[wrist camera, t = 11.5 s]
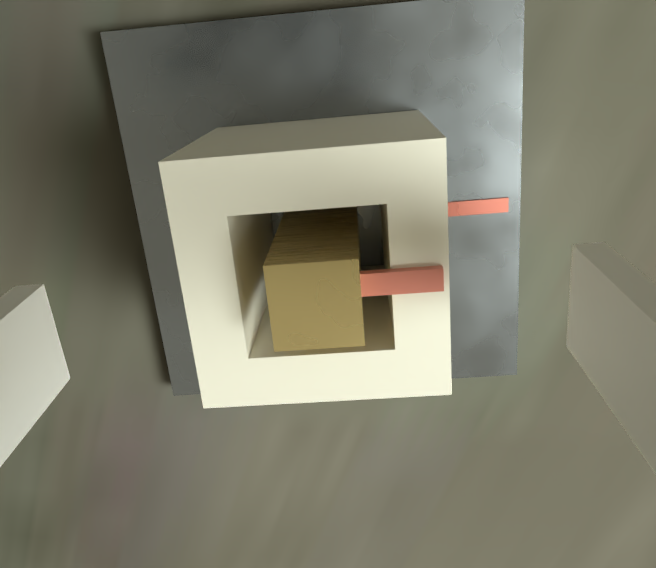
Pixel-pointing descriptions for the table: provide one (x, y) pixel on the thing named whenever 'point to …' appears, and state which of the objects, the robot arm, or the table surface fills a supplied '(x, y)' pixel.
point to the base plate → (327, 102)
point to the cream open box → (257, 236)
